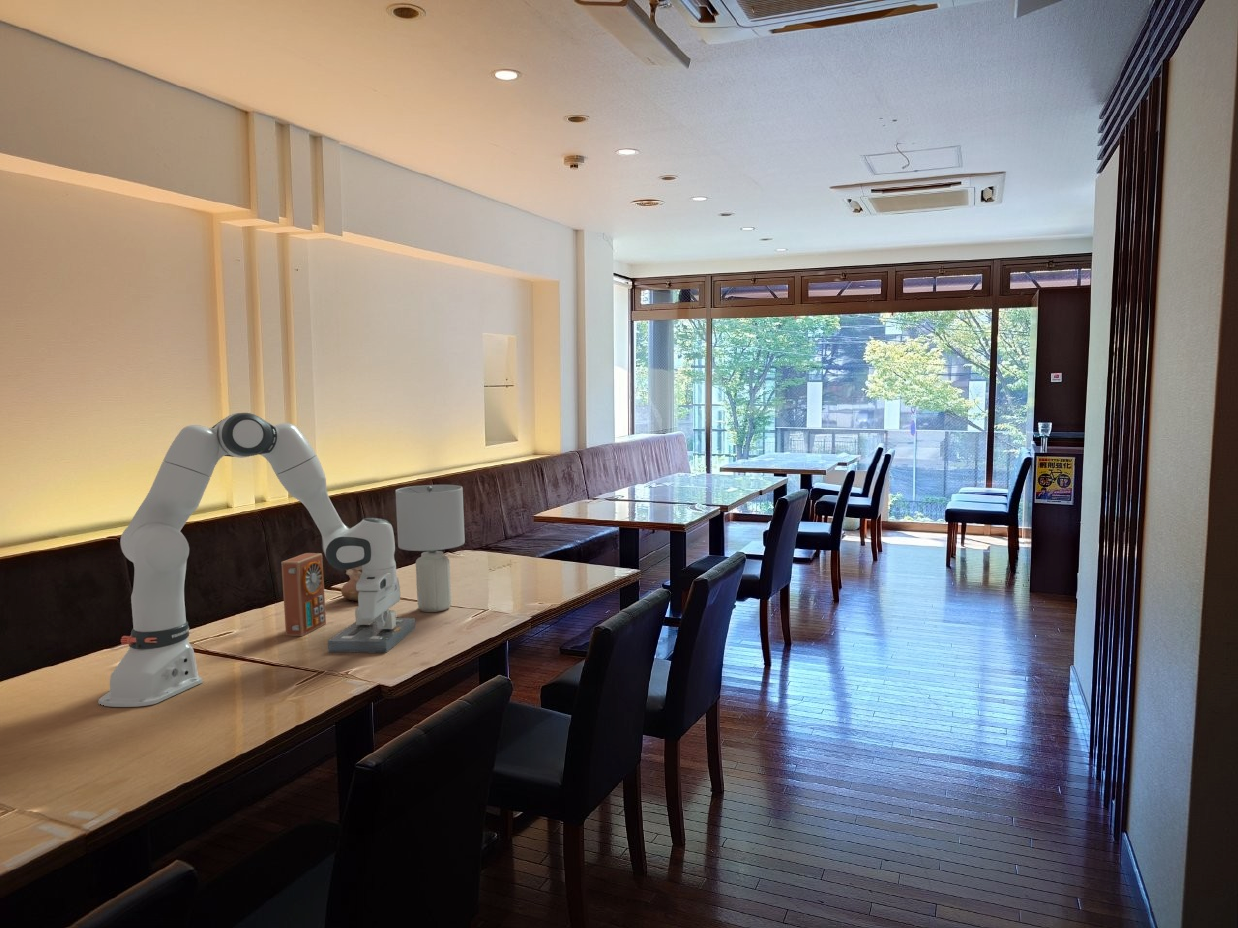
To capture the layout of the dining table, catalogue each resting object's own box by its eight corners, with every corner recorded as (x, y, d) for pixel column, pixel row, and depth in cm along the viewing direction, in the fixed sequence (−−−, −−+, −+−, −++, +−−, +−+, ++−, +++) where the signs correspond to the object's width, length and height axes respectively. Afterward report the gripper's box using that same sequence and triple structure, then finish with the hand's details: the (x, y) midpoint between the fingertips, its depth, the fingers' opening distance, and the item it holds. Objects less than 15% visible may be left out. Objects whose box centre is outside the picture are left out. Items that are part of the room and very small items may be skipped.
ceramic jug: (370, 606, 267) (367, 562, 266) (330, 603, 271) (328, 561, 270) (398, 592, 285) (396, 551, 283) (361, 590, 288) (359, 550, 287)
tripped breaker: (392, 628, 229) (391, 613, 229) (378, 628, 229) (377, 613, 229) (396, 625, 232) (395, 610, 232) (382, 625, 232) (381, 610, 232)
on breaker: (369, 624, 234) (368, 609, 233) (355, 624, 234) (355, 609, 234) (373, 621, 237) (372, 606, 236) (360, 621, 237) (359, 606, 237)
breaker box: (386, 652, 220) (386, 641, 219) (328, 652, 221) (327, 640, 221) (415, 628, 241) (414, 617, 241) (361, 627, 243) (361, 617, 243)
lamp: (430, 621, 248) (424, 492, 244) (387, 611, 260) (381, 488, 257) (480, 606, 264) (475, 484, 260) (438, 597, 276) (433, 481, 273)
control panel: (330, 622, 249) (302, 637, 235) (309, 621, 251) (280, 636, 236) (326, 552, 247) (297, 563, 233) (305, 551, 249) (275, 562, 234)
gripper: (383, 568, 236) (385, 616, 237) (352, 586, 216) (355, 638, 217) (404, 568, 235) (407, 616, 237) (376, 586, 215) (379, 638, 216)
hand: (382, 626), depth 227 cm, fingers closed
